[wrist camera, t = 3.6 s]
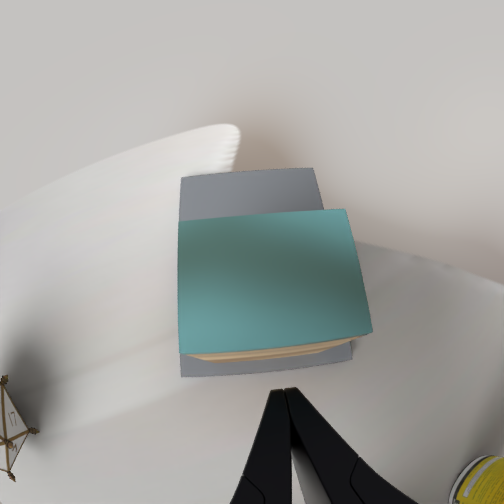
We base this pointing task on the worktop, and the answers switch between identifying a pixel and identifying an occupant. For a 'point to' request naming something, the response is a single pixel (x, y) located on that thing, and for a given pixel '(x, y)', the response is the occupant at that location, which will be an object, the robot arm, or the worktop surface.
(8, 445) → the game die
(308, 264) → the oak block
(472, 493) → the supplement bottle
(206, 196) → the mat
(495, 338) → the worktop surface
